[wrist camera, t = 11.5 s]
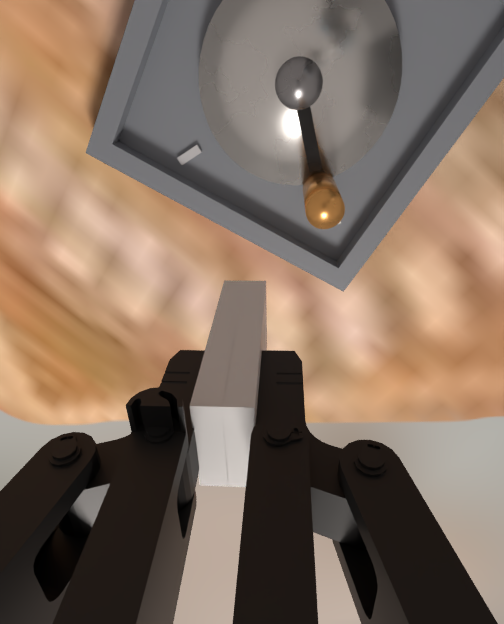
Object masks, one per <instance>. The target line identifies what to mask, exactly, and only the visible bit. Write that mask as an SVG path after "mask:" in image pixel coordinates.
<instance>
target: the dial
mask: <svg viewBox="0 0 504 624" xmlns="http://www.w3.org/2000/svg"><path fill="white" fill-rule="evenodd" d="M401 78H402V49H401V43H400V37H399V33H398V30H397V26H396V23H395V20H394V18H393V15H392V13H391V11H390V9H389V7H388V5H387V3H386V2H385V0H223V1H222V2H221V4H220V5H219V7H218V8H217V10H216V11H215V13H214V15H213V17H212V19H211V21H210V23H209V26H208V29H207V31H206V34H205V37H204V40H203V45H202V49H201V53H200V62H199V90H200V99H201V103H202V107H203V111H204V114H205V117H206V120H207V123H208V125H209V127H210V129H211V131H212V133H213V135H214V137H215V139H216V140H217V142H218V143H219V145H220V146H221V148H222V149H223V150H224V151H225V152H226V153H227V155H228V156H229V157H230V158H231V159H232V160H233V161H235V162H236V163H237V164H238V165H239V166H240V167H242V168H243V169H245V170H246V171H248V172H249V173H251V174H253V175H255V176H257V177H259V178H261V179H264V180H267V181H270V182H273V183H278V184H284V185H303V197H304V204H305V212H306V217H307V219H308V221H309V223H310V224H311V225H313V226H314V227H316V228H318V229H330V228H332V227H334V226H336V225H337V224H338V223H339V222H340V221H341V220H342V218H343V216H344V213H345V205H344V202H343V200H342V197H341V195H340V192H339V190H338V188H337V185H336V183H335V180H334V179H333V177H334V176H336V175H338V174H340V173H342V172H344V171H345V170H347V169H348V168H350V167H352V166H353V165H354V164H355V163H357V162H358V161H359V160H360V159H362V158H363V157H364V156H365V155H366V153H367V152H368V151H369V150H370V149H371V148H372V147H373V146H374V144H375V143H376V142H377V141H378V139H379V138H380V136H381V135H382V133H383V131H384V130H385V128H386V126H387V125H388V123H389V120H390V118H391V116H392V114H393V111H394V108H395V105H396V102H397V99H398V95H399V90H400V85H401Z"/></svg>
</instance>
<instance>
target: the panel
mask: <svg viewBox="0 0 504 624" xmlns="http://www.w3.org/2000/svg"><path fill="white" fill-rule="evenodd" d="M222 1H223V0H135V1H134V4H133V7H132V11H131V14H130V17H129V20H128V23H127V26H126V29H125V32H124V35H123V38H122V42H121V45H120V48H119V51H118V54H117V57H116V60H115V63H114V66H113V70H112V73H111V76H110V79H109V82H108V85H107V88H106V91H105V94H104V97H103V101H102V104H101V107H100V110H99V113H98V116H97V119H96V122H95V125H94V128H93V132H92V135H91V138H90V141H89V144H88V147H87V150H86V153H87V154H89V155H91V156H92V157H94V158H96V159H98V160H100V161H102V162H104V163H105V164H107V165H109V166H111V167H113V168H115V169H117V170H118V171H120V172H122V173H124V174H126V175H128V176H130V177H131V178H133V179H135V180H137V181H139V182H141V183H143V184H144V185H146V186H148V187H150V188H152V189H154V190H156V191H157V192H159V193H161V194H163V195H165V196H167V197H169V198H170V199H172V200H174V201H176V202H178V203H180V204H182V205H183V206H185V207H187V208H189V209H191V210H193V211H195V212H196V213H198V214H200V215H202V216H204V217H206V218H208V219H209V220H211V221H213V222H215V223H217V224H219V225H221V226H222V227H224V228H226V229H228V230H230V231H232V232H234V233H235V234H237V235H239V236H241V237H243V238H245V239H247V240H249V241H250V242H252V243H254V244H256V245H258V246H260V247H262V248H263V249H265V250H267V251H269V252H271V253H273V254H275V255H276V256H278V257H280V258H282V259H284V260H286V261H288V262H289V263H291V264H293V265H295V266H297V267H299V268H301V269H302V270H304V271H306V272H308V273H310V274H312V275H314V276H315V277H317V278H319V279H321V280H323V281H325V282H327V283H328V284H330V285H332V286H334V287H336V288H338V289H340V290H341V291H343V292H344V290H345V289H346V288H347V286H348V285H349V284H350V282H351V281H352V280H353V278H354V277H355V276H356V274H357V273H358V272H359V270H360V269H361V268H362V266H363V265H364V264H365V262H366V261H367V260H368V258H369V257H370V256H371V254H372V253H373V251H374V250H375V249H376V247H377V246H378V245H379V243H380V242H381V241H382V239H383V238H384V237H385V235H386V234H387V233H388V231H389V230H390V229H391V227H392V226H393V225H394V223H395V222H396V221H397V219H398V218H399V217H400V215H401V214H402V213H403V211H404V210H405V209H406V207H407V206H408V205H409V203H410V202H411V201H412V199H413V198H414V197H415V195H416V194H417V193H418V191H419V190H420V189H421V187H422V186H423V185H424V183H425V182H426V181H427V179H428V178H429V177H430V175H431V174H432V173H433V171H434V170H435V169H436V167H437V166H438V165H439V163H440V162H441V161H442V159H443V158H444V157H445V155H446V154H447V153H448V151H449V150H450V149H451V147H452V146H453V145H454V143H455V142H456V141H457V139H458V138H459V137H460V135H461V134H462V133H463V131H464V130H465V129H466V127H467V126H468V125H469V123H470V122H471V121H472V119H473V118H474V117H475V115H476V114H477V113H478V111H479V110H480V109H481V107H482V106H483V105H484V103H485V102H486V101H487V99H488V98H489V97H490V95H491V94H492V93H493V91H494V90H495V89H496V87H497V86H498V85H499V83H500V82H501V81H502V79H503V78H504V0H385V2H386V3H387V5H388V7H389V9H390V11H391V13H392V15H393V18H394V20H395V23H396V26H397V30H398V33H399V37H400V43H401V49H402V78H401V85H400V90H399V95H398V99H397V102H396V105H395V108H394V111H393V114H392V116H391V118H390V120H389V123H388V125H387V126H386V128H385V130H384V131H383V133H382V135H381V136H380V138H379V139H378V141H377V142H376V143H375V144H374V146H373V147H372V148H371V149H370V150H369V151H368V152H367V153H366V155H365V156H364V157H363V158H362V159H360V160H359V161H358V162H357V163H355V164H354V165H353V166H352V167H350V168H348V169H347V170H345V171H344V172H342V173H340V174H338V175H336V176H334V177H333V179H334V180H335V183H336V185H337V188H338V190H339V192H340V195H341V197H342V200H343V202H344V205H345V213H344V216H343V218H342V220H341V221H340V222H339V223H338V224H337V225H336V226H334V227H332V228H330V229H318V228H316V227H314V226H313V225H311V224H310V223H309V221H308V219H307V217H306V212H305V204H304V197H303V185H284V184H278V183H273V182H270V181H267V180H264V179H261V178H259V177H257V176H255V175H253V174H251V173H249V172H248V171H246V170H245V169H243V168H242V167H240V166H239V165H238V164H237V163H236V162H235V161H233V160H232V159H231V158H230V157H229V156H228V155H227V153H226V152H225V151H224V150H223V149H222V148H221V146H220V145H219V143H218V142H217V140H216V139H215V137H214V135H213V133H212V131H211V129H210V127H209V125H208V123H207V120H206V117H205V114H204V111H203V107H202V103H201V99H200V90H199V62H200V53H201V49H202V45H203V40H204V37H205V34H206V31H207V29H208V26H209V23H210V21H211V19H212V17H213V15H214V13H215V11H216V10H217V8H218V7H219V5H220V4H221V2H222Z"/></svg>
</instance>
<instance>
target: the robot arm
mask: <svg viewBox="0 0 504 624" xmlns="http://www.w3.org/2000/svg"><path fill="white" fill-rule="evenodd" d="M266 348H267V324H266V281H224V284H223V288H222V291H221V295H220V298H219V302H218V306H217V309H216V313H215V316H214V320H213V323H212V327H211V331H210V334H209V338H208V341H207V345H206V349H205V351H197V350H180V351H179V352H178V353H177V354H176V355H175V356H173V357H172V358H171V359H170V361H169V363H168V366H167V368H166V371H165V374H164V376H163V379H162V383H161V384H160V386H159V387H158V388H150V389H147V390H144V391H141V392H139V393H138V394H136V395H135V396H133V397H132V398H131V399H130V400H129V402H128V403H127V404H126V409H127V413H128V418H129V422H130V426H131V431H132V432H131V434H130V435H128V436H126V437H123V438H120V439H117V440H113V441H108V442H104V443H99V444H96V443H95V441H94V440H93V438H92V437H91V436H89V435H87V434H85V433H79V432H72V433H67V434H63V435H60V436H58V437H57V438H54V439H52V440H50V441H49V442H48V443H47V444H46V445H44V446H43V447H42V448H41V449H40V450H39V451H38V452H37V453H36V454H35V455H34V456H33V457H32V458H31V459H30V460H29V461H28V463H27V464H26V465H25V466H24V467H23V468H22V469H21V470H20V471H19V472H18V473H17V474H16V475H15V476H14V477H13V478H12V479H11V481H10V482H9V483H8V484H7V485H6V486H5V487H4V488H3V489H2V490H1V491H0V624H173V621H174V615H175V611H176V605H177V600H178V595H179V590H180V585H181V580H182V575H183V570H184V565H185V560H186V555H187V550H188V545H189V540H190V535H191V530H192V525H193V519H194V514H195V509H196V492H195V487H196V482H197V478H198V475H199V482H200V485H205V486H230V487H246V491H245V502H244V512H243V522H242V533H241V544H240V554H239V565H238V575H237V585H236V595H235V606H234V616H233V624H318V612H317V594H316V576H315V558H314V542H313V541H314V540H313V532H315V533H317V534H320V535H322V536H325V537H328V538H330V539H333V544H334V546H335V549H336V552H337V555H338V558H339V561H340V564H341V566H342V569H343V572H344V575H345V578H346V581H347V583H348V586H349V589H350V592H351V595H352V598H353V601H354V603H355V607H356V609H357V612H358V615H359V618H360V621H361V624H498V623H497V622H496V620H495V619H494V617H493V615H492V614H491V612H490V610H489V608H488V607H487V605H486V603H485V602H484V600H483V598H482V597H481V595H480V593H479V592H478V590H477V588H476V587H475V585H474V583H473V581H472V580H471V578H470V576H469V575H468V573H467V571H466V570H465V568H464V566H463V565H462V563H461V561H460V559H459V558H458V556H457V554H456V553H455V551H454V549H453V548H452V546H451V544H450V543H449V541H448V539H447V538H446V536H445V534H444V533H443V531H442V529H441V527H440V526H439V524H438V522H437V521H436V519H435V517H434V516H433V514H432V512H431V511H430V509H429V507H428V505H427V504H426V502H425V500H424V499H423V497H422V495H421V494H420V492H419V490H418V489H417V487H416V485H415V484H414V482H413V480H412V478H411V477H410V475H409V473H408V472H407V470H406V468H405V467H404V465H403V463H402V462H401V460H400V458H399V457H398V456H397V455H396V454H395V453H394V451H393V450H392V449H390V448H389V447H387V446H385V445H384V444H382V443H379V442H376V441H372V440H357V441H354V442H351V443H349V444H348V445H347V446H346V447H344V448H343V449H341V448H338V447H334V446H331V445H328V444H326V443H323V442H321V441H320V440H318V439H317V438H315V437H314V436H313V435H312V434H311V433H310V431H309V430H308V428H307V426H306V422H305V409H304V391H303V372H302V361H301V359H300V358H299V357H298V355H297V354H296V352H295V351H266Z"/></svg>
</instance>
